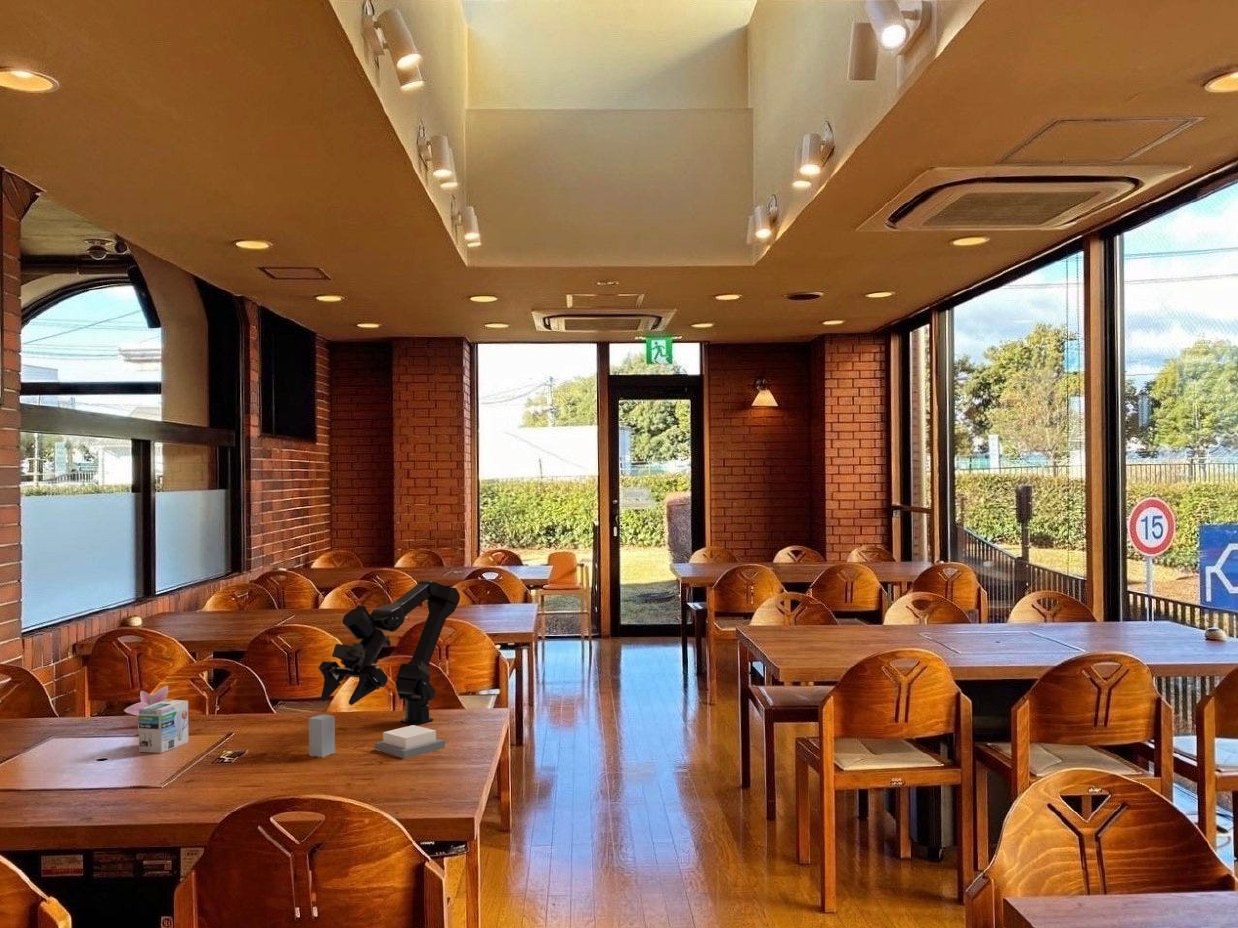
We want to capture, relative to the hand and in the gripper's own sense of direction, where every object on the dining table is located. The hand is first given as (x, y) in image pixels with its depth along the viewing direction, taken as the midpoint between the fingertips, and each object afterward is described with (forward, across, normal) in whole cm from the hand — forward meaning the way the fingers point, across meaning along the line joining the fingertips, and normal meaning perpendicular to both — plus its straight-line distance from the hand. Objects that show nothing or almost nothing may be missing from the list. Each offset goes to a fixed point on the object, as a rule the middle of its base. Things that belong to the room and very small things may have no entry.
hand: (335, 702), depth 234 cm
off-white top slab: (+1, +16, +13) cm, 21 cm away
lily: (+10, -65, +6) cm, 66 cm away
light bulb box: (+20, -42, -3) cm, 46 cm away
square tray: (+3, +16, +14) cm, 22 cm away
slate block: (+11, 0, +5) cm, 12 cm away
